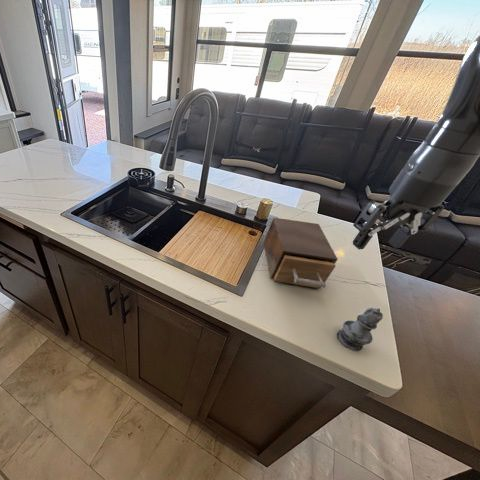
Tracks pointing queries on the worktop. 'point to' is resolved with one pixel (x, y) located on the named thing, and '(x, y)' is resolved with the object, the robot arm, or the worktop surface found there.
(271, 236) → the cabinet
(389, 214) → the robot arm
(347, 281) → the worktop surface
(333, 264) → the open wooden drawer
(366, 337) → the dark grey chess piece
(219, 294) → the worktop surface
